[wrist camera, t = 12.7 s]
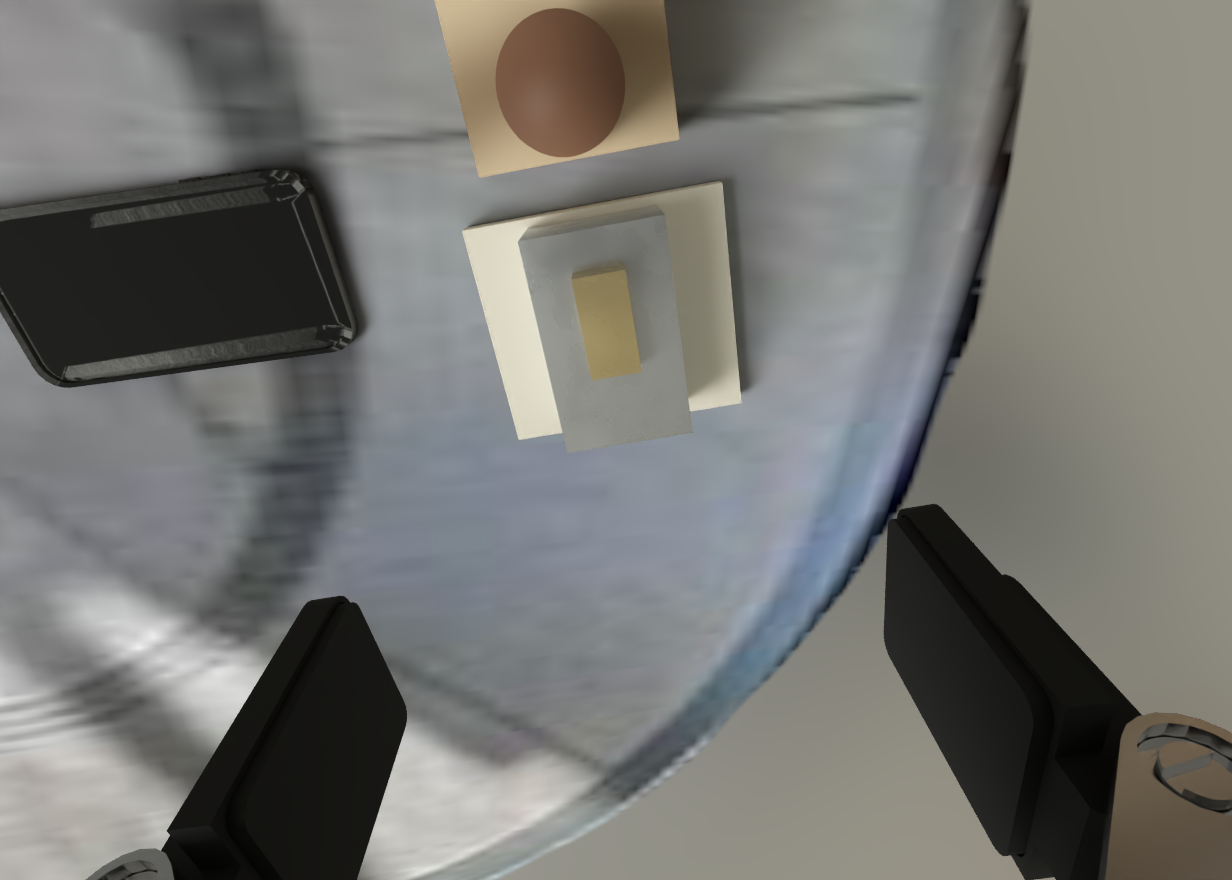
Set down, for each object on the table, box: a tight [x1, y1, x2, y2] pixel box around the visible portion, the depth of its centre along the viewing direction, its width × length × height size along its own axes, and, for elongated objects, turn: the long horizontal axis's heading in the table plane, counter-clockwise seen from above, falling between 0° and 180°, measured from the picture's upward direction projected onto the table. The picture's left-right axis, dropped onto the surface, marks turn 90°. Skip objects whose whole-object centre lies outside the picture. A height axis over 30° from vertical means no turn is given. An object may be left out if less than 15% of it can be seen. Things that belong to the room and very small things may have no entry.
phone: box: [0, 169, 358, 388], centre depth 27 cm, size 8×1×15 cm
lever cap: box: [518, 205, 693, 453], centre depth 26 cm, size 9×6×4 cm, turn 10°
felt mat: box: [462, 181, 741, 440], centre depth 28 cm, size 10×11×1 cm
